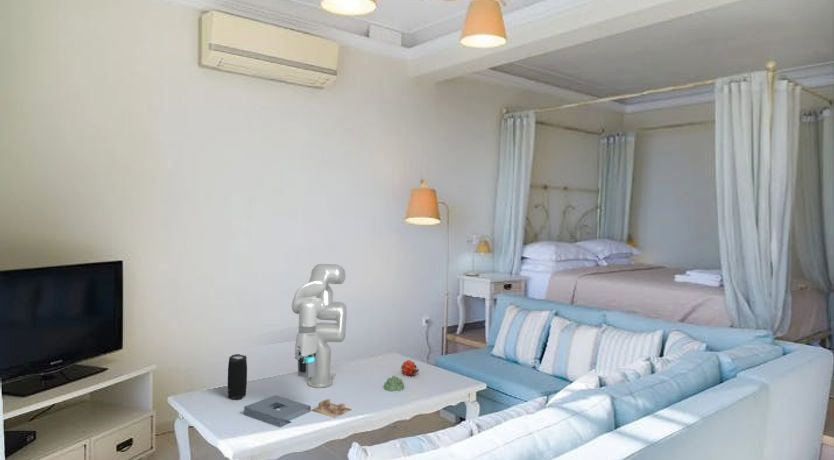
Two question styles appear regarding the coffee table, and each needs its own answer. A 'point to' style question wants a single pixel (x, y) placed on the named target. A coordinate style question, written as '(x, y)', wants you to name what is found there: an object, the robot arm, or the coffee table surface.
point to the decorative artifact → (394, 384)
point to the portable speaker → (237, 376)
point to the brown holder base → (331, 409)
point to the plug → (307, 368)
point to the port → (269, 414)
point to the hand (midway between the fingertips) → (306, 370)
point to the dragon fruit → (409, 368)
